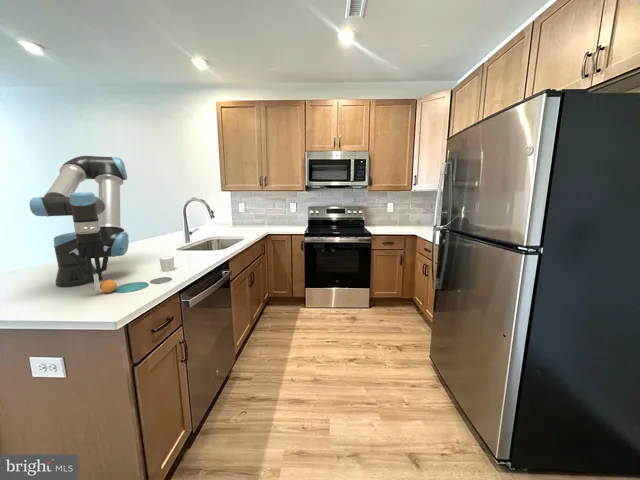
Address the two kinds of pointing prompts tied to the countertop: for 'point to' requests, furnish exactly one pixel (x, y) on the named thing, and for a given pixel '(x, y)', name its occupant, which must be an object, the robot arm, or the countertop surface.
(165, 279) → the disc
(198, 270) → the countertop surface
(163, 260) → the shot glass
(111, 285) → the ball
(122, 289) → the disc
